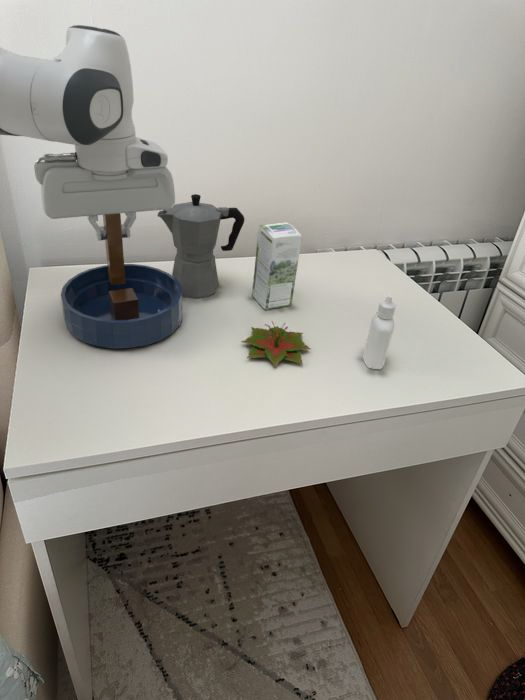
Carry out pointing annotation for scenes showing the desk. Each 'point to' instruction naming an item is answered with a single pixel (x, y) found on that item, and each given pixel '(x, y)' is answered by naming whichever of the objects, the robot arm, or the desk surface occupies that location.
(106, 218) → the stick
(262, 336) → the lily flower
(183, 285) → the coffeepot
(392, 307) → the eye dropper bottle
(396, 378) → the desk surface
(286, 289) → the syrup box
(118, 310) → the block
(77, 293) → the bowl
